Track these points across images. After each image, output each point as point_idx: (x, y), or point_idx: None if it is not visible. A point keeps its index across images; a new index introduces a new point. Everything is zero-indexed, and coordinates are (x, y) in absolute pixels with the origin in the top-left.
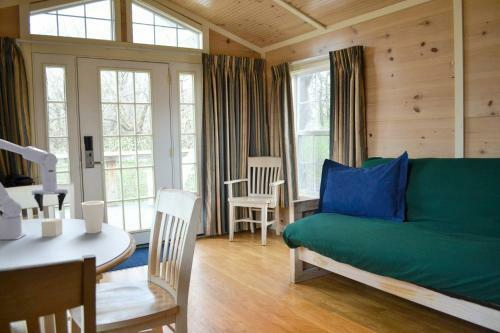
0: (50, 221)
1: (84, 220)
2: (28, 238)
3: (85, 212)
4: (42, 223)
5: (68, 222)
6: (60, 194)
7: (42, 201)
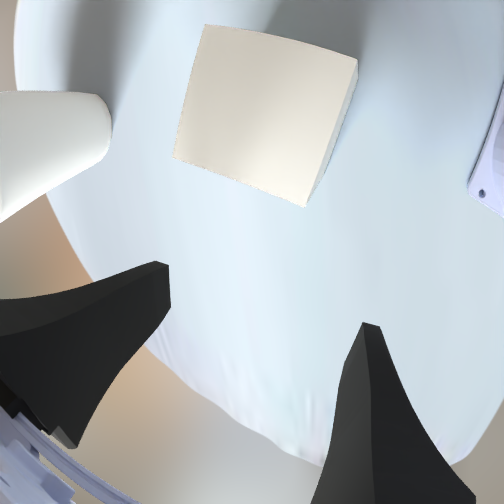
0: (260, 56)
1: (58, 119)
2: (444, 73)
3: (2, 101)
4: (346, 57)
5: (238, 382)
6: (3, 386)
7: (327, 463)
